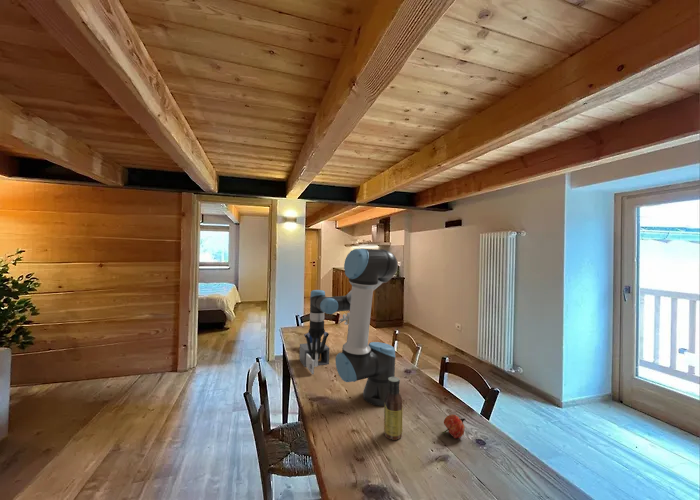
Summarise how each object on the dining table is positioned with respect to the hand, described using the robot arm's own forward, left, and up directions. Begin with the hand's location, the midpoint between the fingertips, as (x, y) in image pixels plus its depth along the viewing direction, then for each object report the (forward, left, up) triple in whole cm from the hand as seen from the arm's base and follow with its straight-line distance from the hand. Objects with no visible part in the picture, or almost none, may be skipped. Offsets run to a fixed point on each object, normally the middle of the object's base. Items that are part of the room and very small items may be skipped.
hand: (315, 365), depth 158 cm
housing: (+15, -3, -4) cm, 16 cm away
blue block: (+37, -9, -4) cm, 38 cm away
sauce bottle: (-61, -10, -4) cm, 62 cm away
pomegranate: (-68, -30, -4) cm, 75 cm away
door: (+2, +3, -3) cm, 5 cm away
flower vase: (+21, -29, -4) cm, 36 cm away
